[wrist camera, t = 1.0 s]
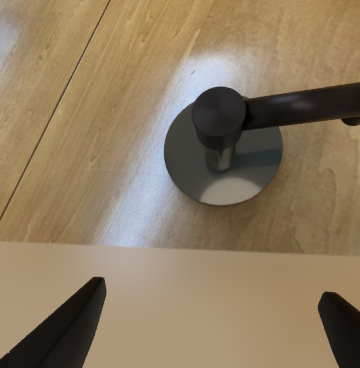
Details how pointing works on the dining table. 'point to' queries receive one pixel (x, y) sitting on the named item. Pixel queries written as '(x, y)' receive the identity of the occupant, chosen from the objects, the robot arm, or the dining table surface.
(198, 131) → the spout
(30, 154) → the dining table surface
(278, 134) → the faucet base
